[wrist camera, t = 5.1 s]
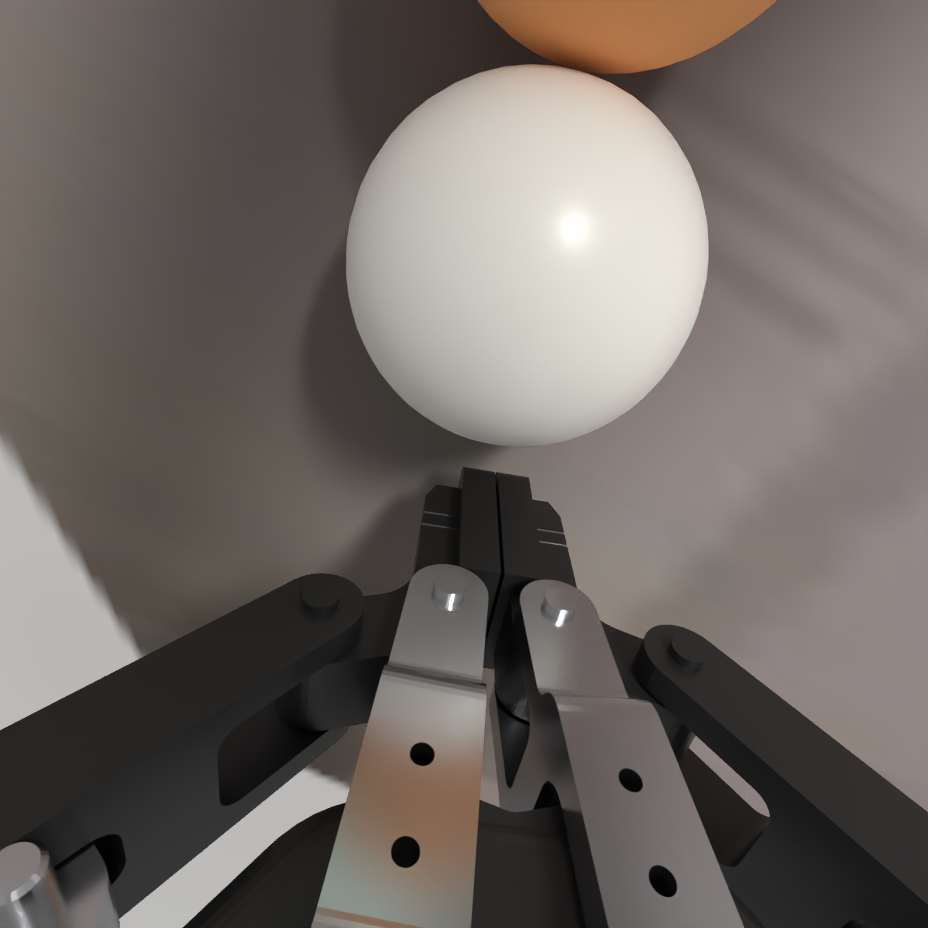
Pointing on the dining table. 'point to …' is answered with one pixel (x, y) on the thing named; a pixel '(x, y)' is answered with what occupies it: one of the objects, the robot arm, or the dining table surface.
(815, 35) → the dining table surface
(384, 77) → the dining table surface
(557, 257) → the cue ball
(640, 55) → the orange ball
